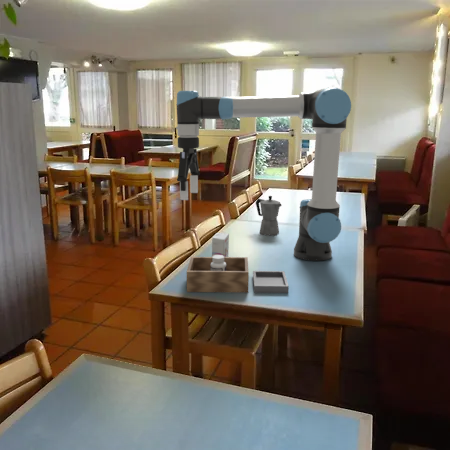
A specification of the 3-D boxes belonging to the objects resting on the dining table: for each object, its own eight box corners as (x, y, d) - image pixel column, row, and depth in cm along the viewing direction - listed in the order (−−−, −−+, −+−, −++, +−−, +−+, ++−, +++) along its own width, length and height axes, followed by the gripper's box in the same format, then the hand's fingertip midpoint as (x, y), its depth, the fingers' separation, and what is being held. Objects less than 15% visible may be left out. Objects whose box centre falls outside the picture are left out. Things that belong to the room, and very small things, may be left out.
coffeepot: (286, 233, 218) (287, 196, 213) (273, 237, 211) (274, 199, 207) (261, 227, 228) (262, 192, 224) (249, 231, 222) (249, 194, 217)
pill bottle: (218, 279, 161) (218, 253, 158) (229, 283, 157) (229, 256, 154) (207, 283, 157) (207, 256, 154) (218, 287, 153) (218, 260, 151)
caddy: (247, 275, 164) (247, 257, 162) (248, 292, 149) (248, 272, 148) (191, 275, 164) (191, 256, 163) (186, 291, 150) (186, 271, 148)
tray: (284, 277, 163) (284, 271, 162) (288, 292, 149) (288, 286, 148) (252, 277, 163) (253, 270, 162) (254, 292, 149) (254, 285, 149)
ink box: (224, 269, 170) (224, 239, 167) (211, 268, 171) (211, 238, 168) (228, 262, 178) (229, 232, 175) (216, 261, 179) (216, 232, 176)
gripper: (187, 134, 173) (188, 189, 179) (166, 138, 150) (168, 202, 155) (206, 134, 172) (207, 190, 177) (189, 139, 148) (190, 203, 154)
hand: (189, 196), depth 166 cm, fingers open, 13 cm apart
